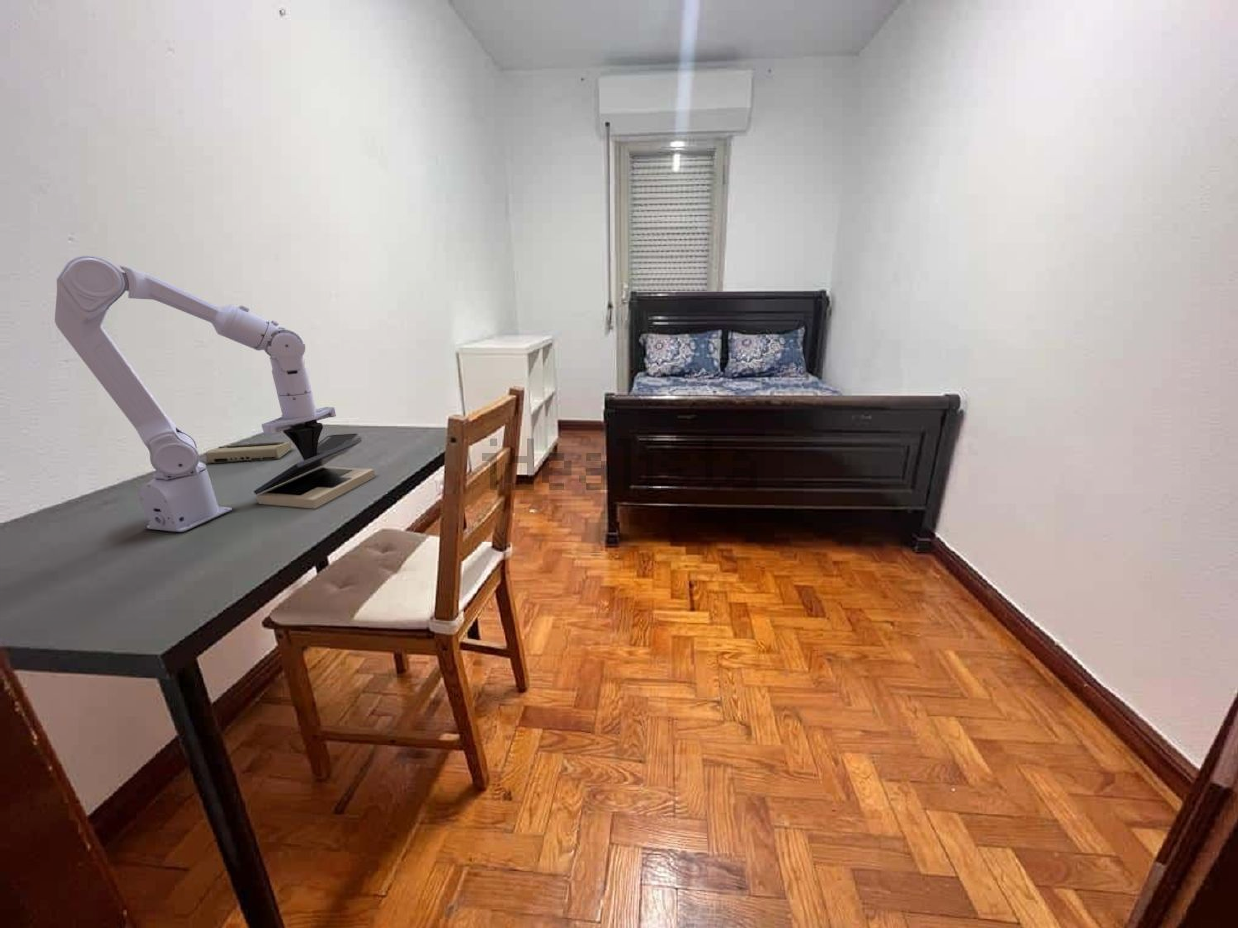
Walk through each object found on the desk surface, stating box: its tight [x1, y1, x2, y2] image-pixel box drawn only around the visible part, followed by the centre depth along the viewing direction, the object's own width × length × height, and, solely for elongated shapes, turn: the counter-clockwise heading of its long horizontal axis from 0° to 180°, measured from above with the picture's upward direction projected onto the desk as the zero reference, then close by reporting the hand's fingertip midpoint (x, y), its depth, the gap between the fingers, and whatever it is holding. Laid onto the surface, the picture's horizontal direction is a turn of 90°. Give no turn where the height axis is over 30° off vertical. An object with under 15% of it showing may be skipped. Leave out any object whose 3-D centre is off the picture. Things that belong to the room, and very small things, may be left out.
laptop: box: [255, 465, 376, 510], centre depth 105 cm, size 13×17×2 cm
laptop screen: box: [253, 437, 362, 495], centre depth 104 cm, size 13×17×1 cm
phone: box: [317, 433, 359, 455], centre depth 134 cm, size 8×1×15 cm
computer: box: [205, 441, 292, 464], centre depth 127 cm, size 16×8×3 cm, turn 99°
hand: (310, 459), depth 104 cm, fingers closed, pressing on laptop screen
